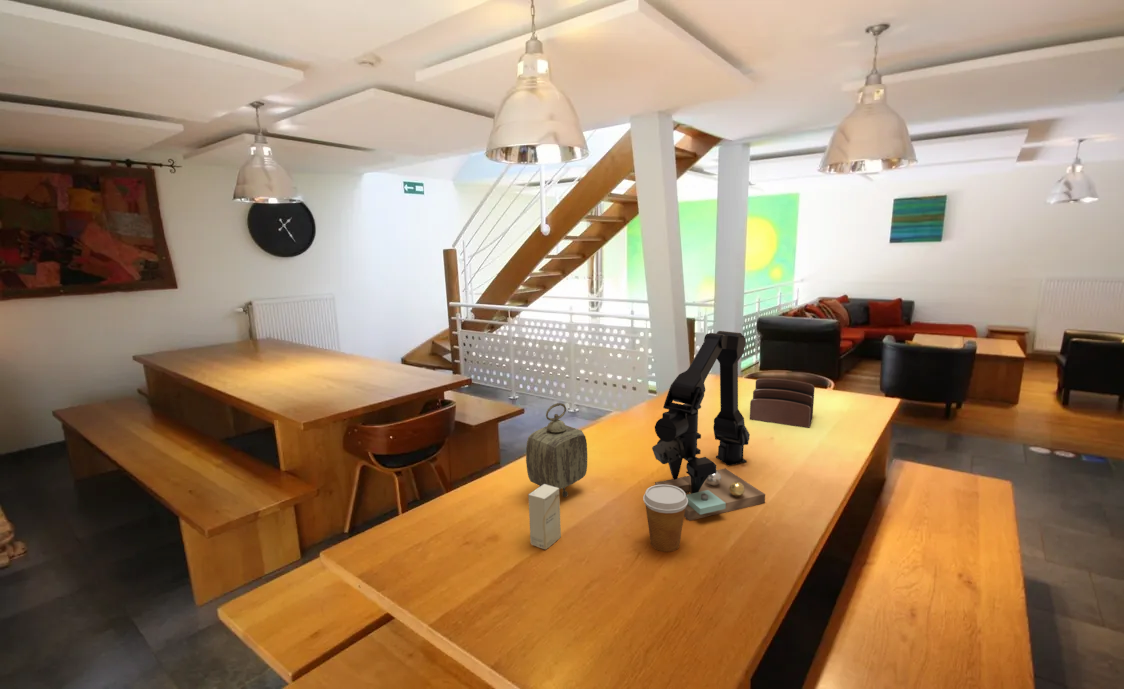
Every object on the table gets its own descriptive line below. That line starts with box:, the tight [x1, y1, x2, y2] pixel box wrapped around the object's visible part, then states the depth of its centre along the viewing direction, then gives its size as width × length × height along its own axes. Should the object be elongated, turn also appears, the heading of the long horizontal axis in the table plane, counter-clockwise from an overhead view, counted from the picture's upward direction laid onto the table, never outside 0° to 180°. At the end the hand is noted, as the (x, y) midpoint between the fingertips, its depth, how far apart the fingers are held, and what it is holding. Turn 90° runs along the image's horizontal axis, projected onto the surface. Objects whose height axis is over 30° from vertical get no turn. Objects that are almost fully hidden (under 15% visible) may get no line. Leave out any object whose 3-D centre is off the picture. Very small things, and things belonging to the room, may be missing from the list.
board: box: [654, 467, 766, 522], centre depth 136 cm, size 22×16×2 cm
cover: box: [686, 490, 726, 515], centre depth 127 cm, size 7×7×2 cm
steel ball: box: [706, 471, 721, 486], centre depth 136 cm, size 4×4×4 cm
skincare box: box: [527, 484, 562, 550], centre depth 117 cm, size 6×4×12 cm
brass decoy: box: [729, 482, 745, 497], centre depth 131 cm, size 4×4×4 cm
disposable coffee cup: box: [642, 484, 688, 553], centre depth 115 cm, size 10×10×12 cm
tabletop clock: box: [525, 402, 588, 498], centre depth 137 cm, size 14×9×25 cm, turn 135°
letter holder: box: [749, 377, 816, 429], centre depth 187 cm, size 10×20×14 cm, turn 60°
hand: (684, 486), depth 135 cm, fingers open, 9 cm apart
